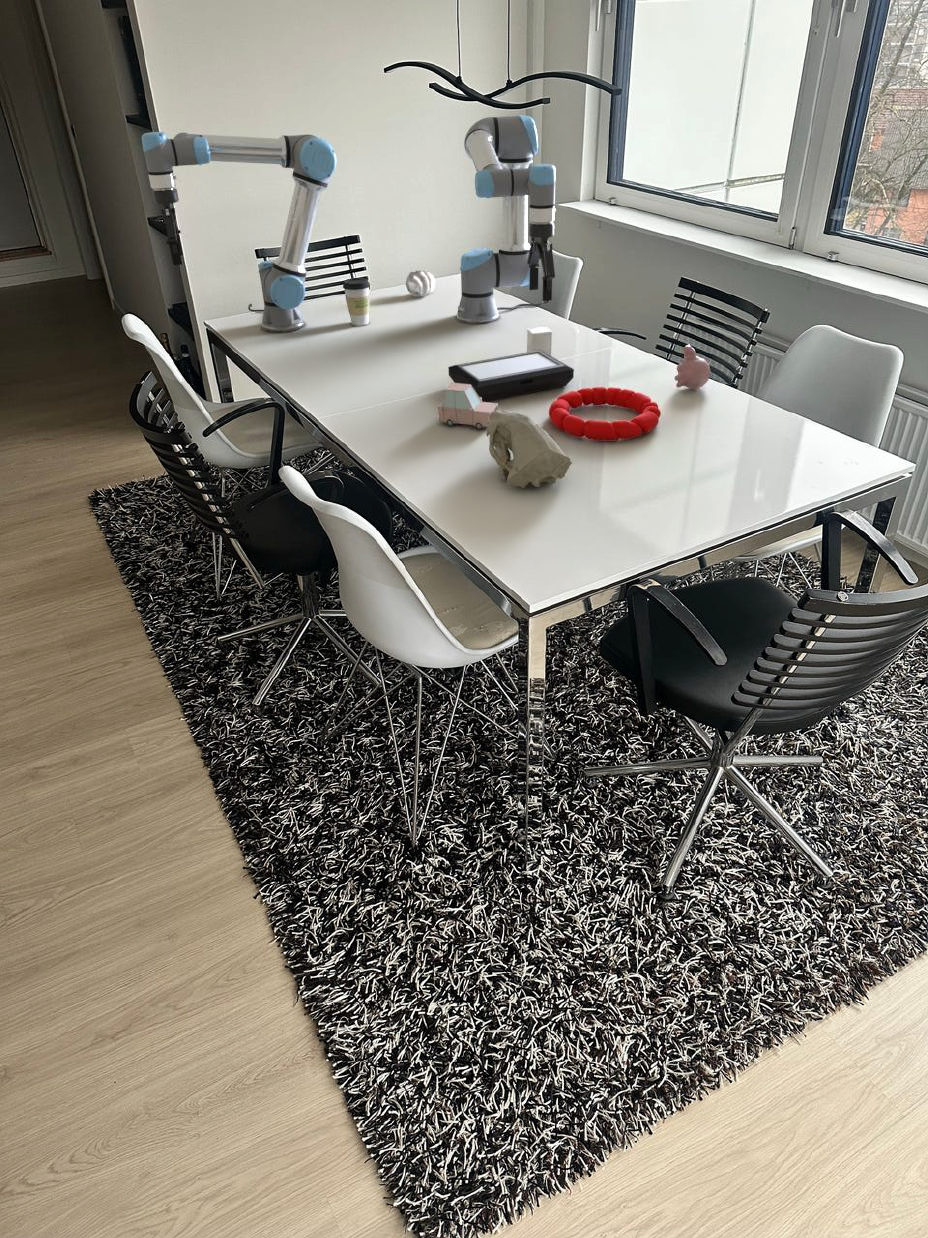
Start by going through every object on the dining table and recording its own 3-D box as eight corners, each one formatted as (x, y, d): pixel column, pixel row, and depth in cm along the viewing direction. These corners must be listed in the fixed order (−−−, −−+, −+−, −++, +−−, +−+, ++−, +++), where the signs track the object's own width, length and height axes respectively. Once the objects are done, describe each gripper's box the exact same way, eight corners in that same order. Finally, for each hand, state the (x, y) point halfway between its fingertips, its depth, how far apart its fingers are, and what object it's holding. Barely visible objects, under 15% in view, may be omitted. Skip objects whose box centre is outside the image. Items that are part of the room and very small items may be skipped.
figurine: (665, 387, 264) (669, 347, 257) (693, 380, 268) (698, 340, 261) (686, 396, 257) (690, 355, 250) (714, 388, 262) (720, 348, 255)
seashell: (399, 296, 356) (397, 270, 350) (432, 290, 362) (431, 264, 356) (410, 301, 348) (409, 275, 343) (444, 295, 354) (443, 269, 349)
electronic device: (476, 384, 253) (448, 364, 268) (476, 405, 256) (449, 384, 271) (574, 366, 263) (541, 347, 278) (573, 386, 266) (541, 367, 281)
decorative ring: (589, 435, 224) (684, 402, 234) (527, 398, 247) (617, 369, 256) (589, 461, 229) (683, 427, 238) (529, 422, 251) (617, 393, 260)
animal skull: (496, 517, 219) (521, 479, 201) (463, 429, 225) (484, 384, 207) (557, 503, 225) (586, 465, 206) (523, 417, 231) (549, 373, 212)
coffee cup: (372, 326, 323) (368, 283, 314) (345, 327, 323) (340, 284, 315) (374, 318, 331) (371, 276, 322) (348, 319, 331) (344, 277, 323)
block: (531, 360, 288) (532, 333, 283) (526, 355, 292) (527, 328, 287) (551, 358, 289) (551, 331, 284) (545, 353, 293) (546, 326, 288)
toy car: (488, 432, 240) (488, 396, 234) (436, 426, 244) (434, 390, 239) (499, 419, 247) (499, 384, 241) (448, 413, 252) (447, 379, 246)
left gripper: (175, 194, 269) (189, 267, 281) (177, 181, 289) (190, 250, 301) (149, 195, 268) (165, 269, 280) (153, 183, 288) (167, 252, 300)
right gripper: (567, 228, 258) (564, 303, 270) (540, 213, 278) (539, 284, 290) (542, 231, 256) (541, 306, 268) (517, 215, 276) (517, 286, 288)
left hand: (178, 259), depth 290 cm, fingers open, 13 cm apart
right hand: (540, 294), depth 279 cm, fingers open, 13 cm apart
